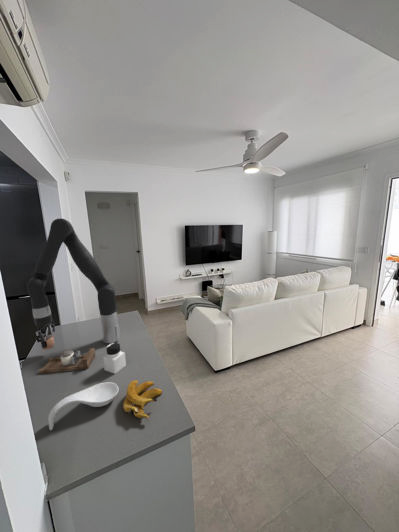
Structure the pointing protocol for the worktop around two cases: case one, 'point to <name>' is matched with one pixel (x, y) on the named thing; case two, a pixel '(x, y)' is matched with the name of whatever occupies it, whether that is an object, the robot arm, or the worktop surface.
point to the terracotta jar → (49, 341)
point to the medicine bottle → (114, 358)
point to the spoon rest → (87, 398)
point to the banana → (139, 397)
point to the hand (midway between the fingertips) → (48, 344)
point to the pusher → (76, 358)
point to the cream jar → (67, 358)
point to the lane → (56, 366)
